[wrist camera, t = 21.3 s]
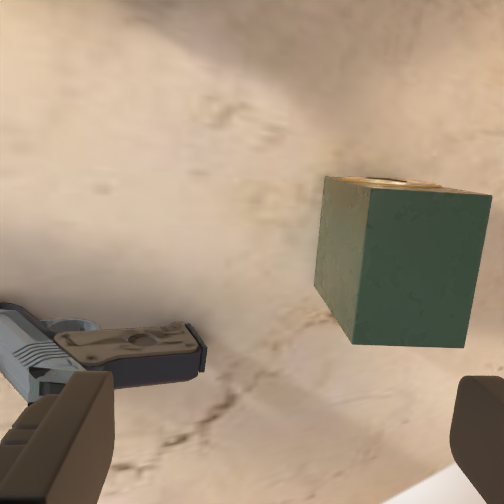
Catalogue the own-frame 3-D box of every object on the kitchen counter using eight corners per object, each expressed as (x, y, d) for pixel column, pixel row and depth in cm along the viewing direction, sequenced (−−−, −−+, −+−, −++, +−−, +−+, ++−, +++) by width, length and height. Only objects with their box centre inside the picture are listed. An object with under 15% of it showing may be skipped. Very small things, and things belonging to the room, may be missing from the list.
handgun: (116, 280, 38) (-42, 301, 29) (226, 338, 29) (49, 394, 20) (114, 306, 39) (-42, 335, 30) (221, 371, 30) (47, 440, 21)
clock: (464, 348, 22) (494, 189, 20) (351, 344, 22) (372, 181, 20) (392, 289, 32) (408, 177, 30) (313, 285, 32) (325, 172, 30)
